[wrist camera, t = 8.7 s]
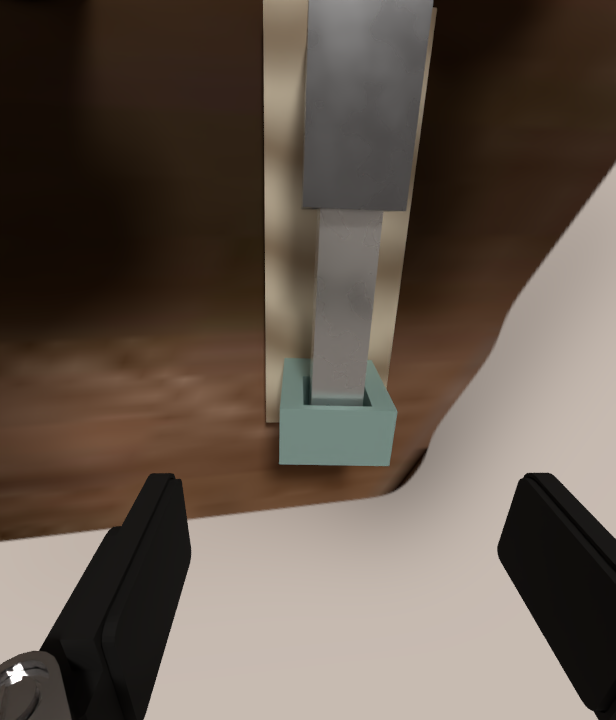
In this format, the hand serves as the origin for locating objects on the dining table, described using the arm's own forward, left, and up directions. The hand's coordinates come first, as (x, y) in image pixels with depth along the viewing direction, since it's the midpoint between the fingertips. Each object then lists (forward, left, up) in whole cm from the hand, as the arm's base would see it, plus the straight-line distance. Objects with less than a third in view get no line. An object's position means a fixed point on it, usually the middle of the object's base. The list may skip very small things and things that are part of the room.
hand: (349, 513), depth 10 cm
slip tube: (-3, +1, -15) cm, 16 cm away
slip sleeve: (-12, +1, -19) cm, 23 cm away
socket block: (+5, +1, -19) cm, 20 cm away
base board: (-5, +1, -21) cm, 21 cm away
